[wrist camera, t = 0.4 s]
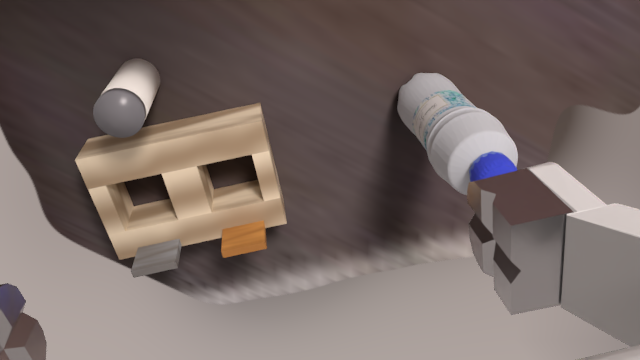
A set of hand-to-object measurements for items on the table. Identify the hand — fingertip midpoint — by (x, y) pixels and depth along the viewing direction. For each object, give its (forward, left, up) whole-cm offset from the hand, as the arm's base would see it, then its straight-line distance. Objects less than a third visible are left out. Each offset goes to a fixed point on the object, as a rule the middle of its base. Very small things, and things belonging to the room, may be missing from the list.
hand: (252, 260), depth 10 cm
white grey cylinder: (+8, -12, -45) cm, 47 cm away
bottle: (+16, +16, -45) cm, 50 cm away
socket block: (+19, -10, -45) cm, 50 cm away
